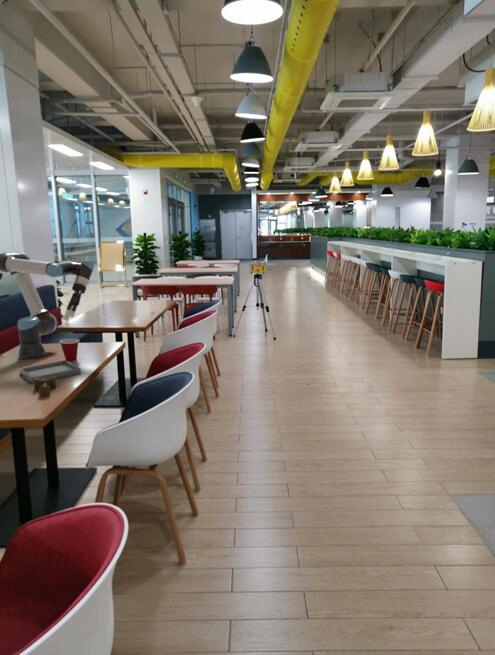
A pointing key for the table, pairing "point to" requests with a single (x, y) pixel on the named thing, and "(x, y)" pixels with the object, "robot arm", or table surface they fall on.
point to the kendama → (44, 385)
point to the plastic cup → (70, 349)
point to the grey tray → (50, 371)
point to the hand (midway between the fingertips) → (68, 318)
